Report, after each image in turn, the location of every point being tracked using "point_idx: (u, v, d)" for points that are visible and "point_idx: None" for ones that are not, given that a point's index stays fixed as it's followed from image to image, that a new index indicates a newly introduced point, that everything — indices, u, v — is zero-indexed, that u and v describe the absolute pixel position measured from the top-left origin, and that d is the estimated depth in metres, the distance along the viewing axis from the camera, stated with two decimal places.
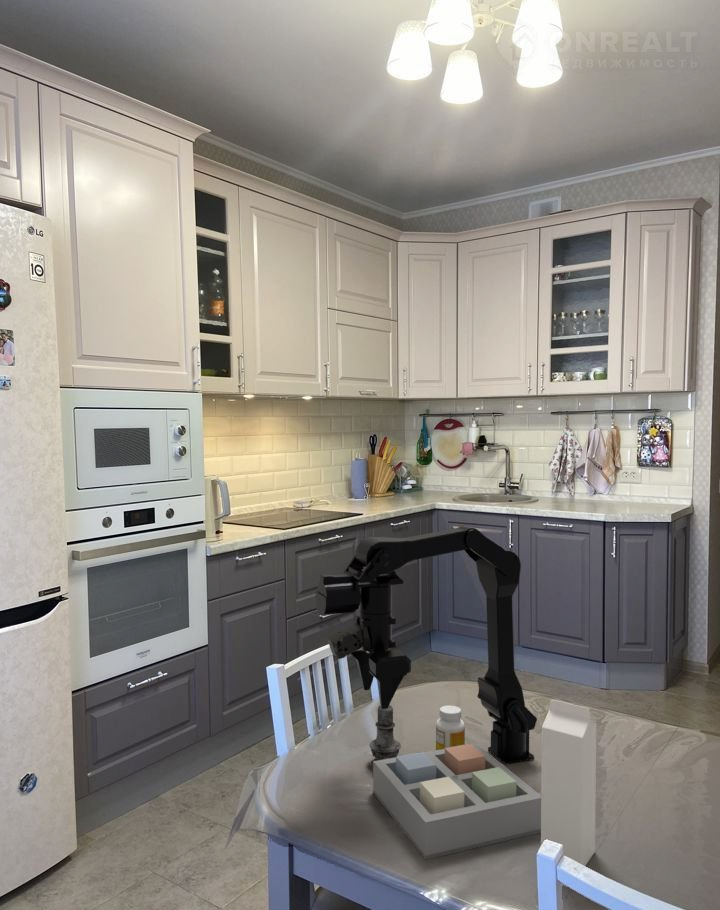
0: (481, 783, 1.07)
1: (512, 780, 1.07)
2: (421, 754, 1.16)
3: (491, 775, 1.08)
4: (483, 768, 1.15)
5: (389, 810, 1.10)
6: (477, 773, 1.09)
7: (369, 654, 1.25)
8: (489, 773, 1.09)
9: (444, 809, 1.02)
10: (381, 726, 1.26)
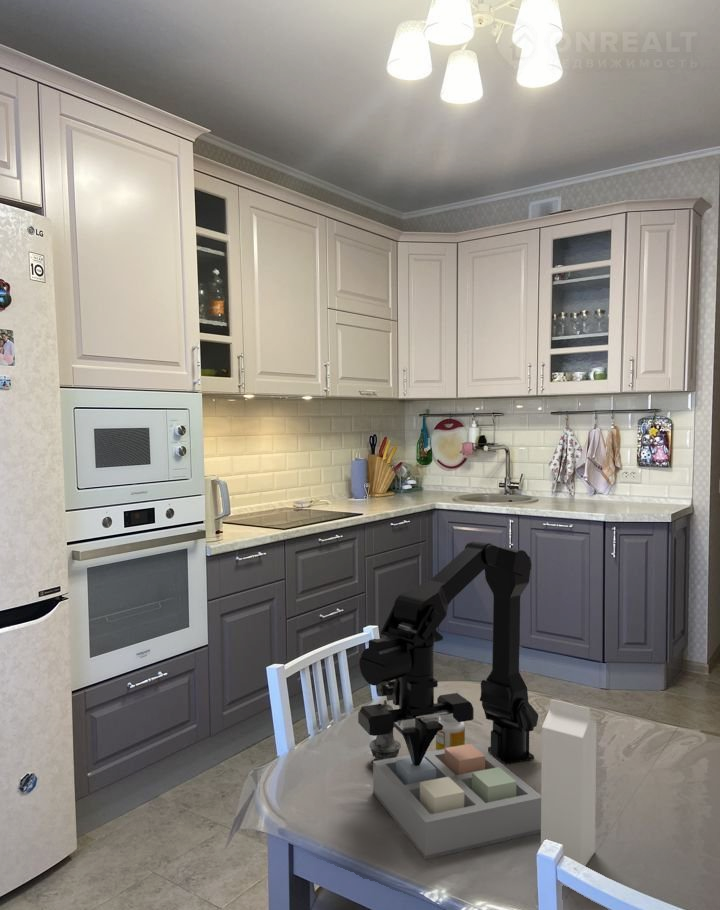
0: (481, 783, 1.07)
1: (512, 780, 1.07)
2: None
3: (491, 775, 1.08)
4: (483, 768, 1.15)
5: (389, 810, 1.10)
6: (477, 773, 1.09)
7: (421, 727, 1.13)
8: (489, 773, 1.09)
9: (444, 809, 1.02)
10: None
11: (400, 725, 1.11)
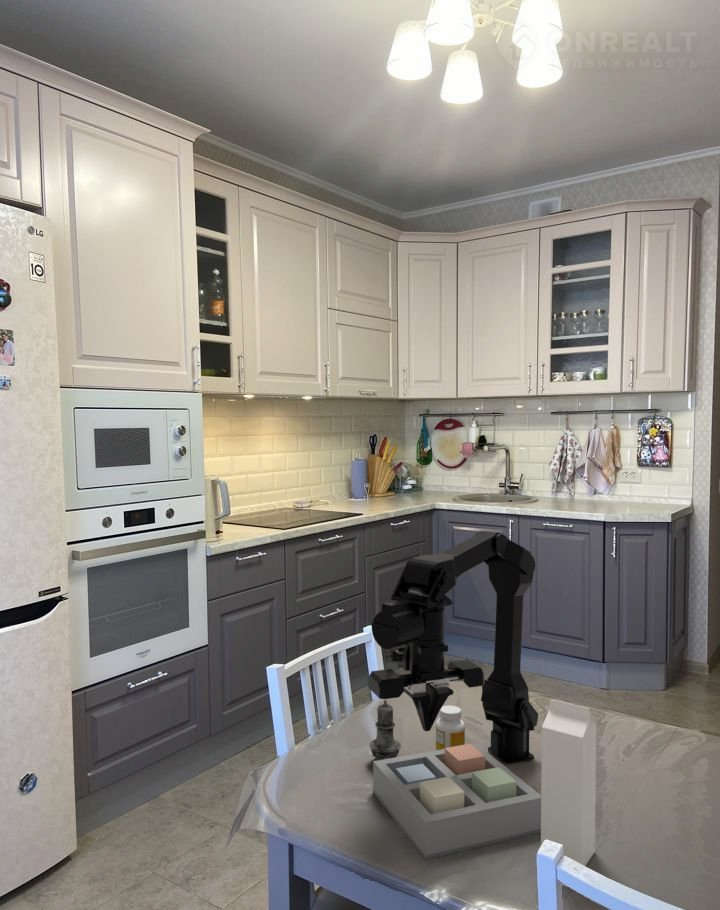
0: (481, 783, 1.07)
1: (512, 780, 1.07)
2: (421, 766, 1.16)
3: (491, 775, 1.08)
4: (483, 768, 1.15)
5: (389, 810, 1.10)
6: (477, 773, 1.09)
7: (432, 693, 1.12)
8: (489, 773, 1.09)
9: (444, 809, 1.02)
10: (381, 726, 1.26)
11: (410, 690, 1.10)
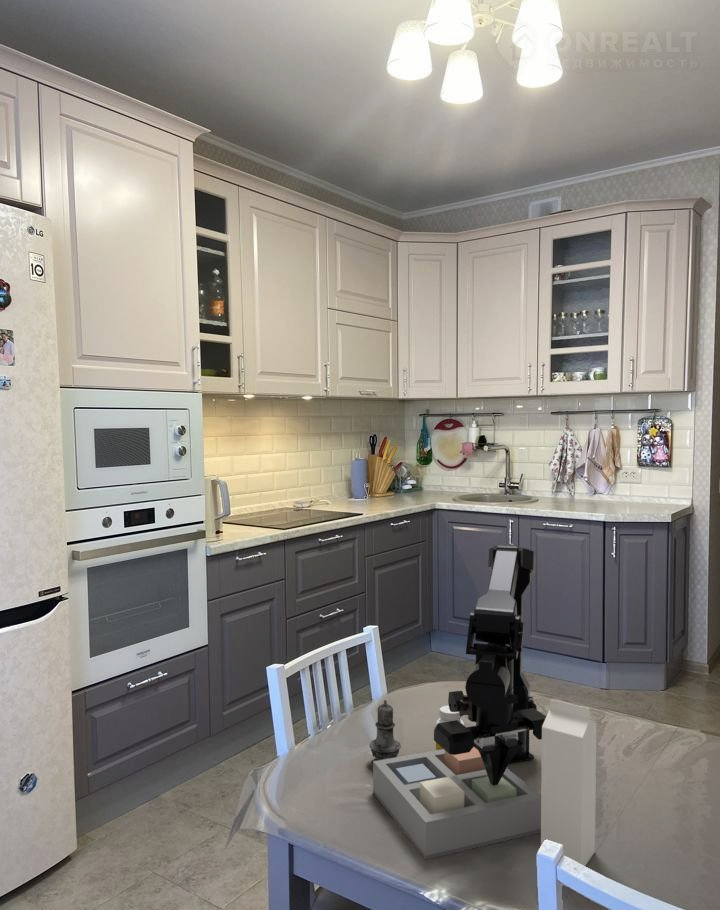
0: (481, 790, 1.07)
1: (512, 788, 1.07)
2: (421, 766, 1.16)
3: None
4: (483, 768, 1.15)
5: (389, 810, 1.10)
6: (477, 780, 1.09)
7: (500, 745, 1.07)
8: (489, 781, 1.09)
9: (444, 809, 1.02)
10: (381, 726, 1.26)
11: (479, 743, 1.05)
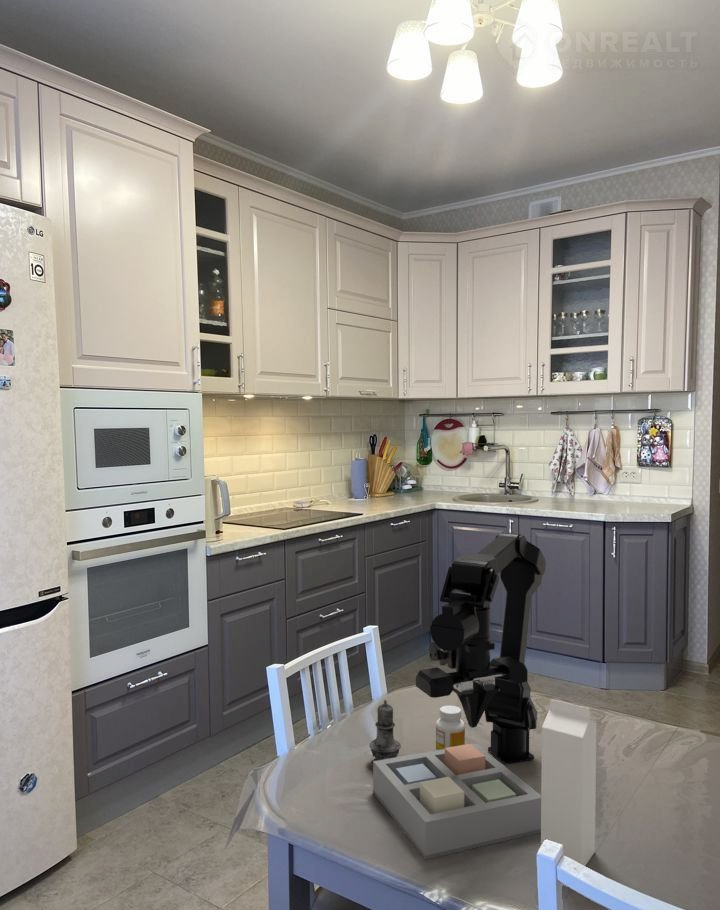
0: (481, 795, 1.07)
1: (512, 793, 1.07)
2: (421, 766, 1.16)
3: (491, 788, 1.08)
4: (483, 768, 1.15)
5: (389, 810, 1.10)
6: (477, 786, 1.09)
7: (478, 690, 1.14)
8: (489, 786, 1.09)
9: (444, 809, 1.02)
10: (381, 726, 1.26)
11: (458, 687, 1.12)
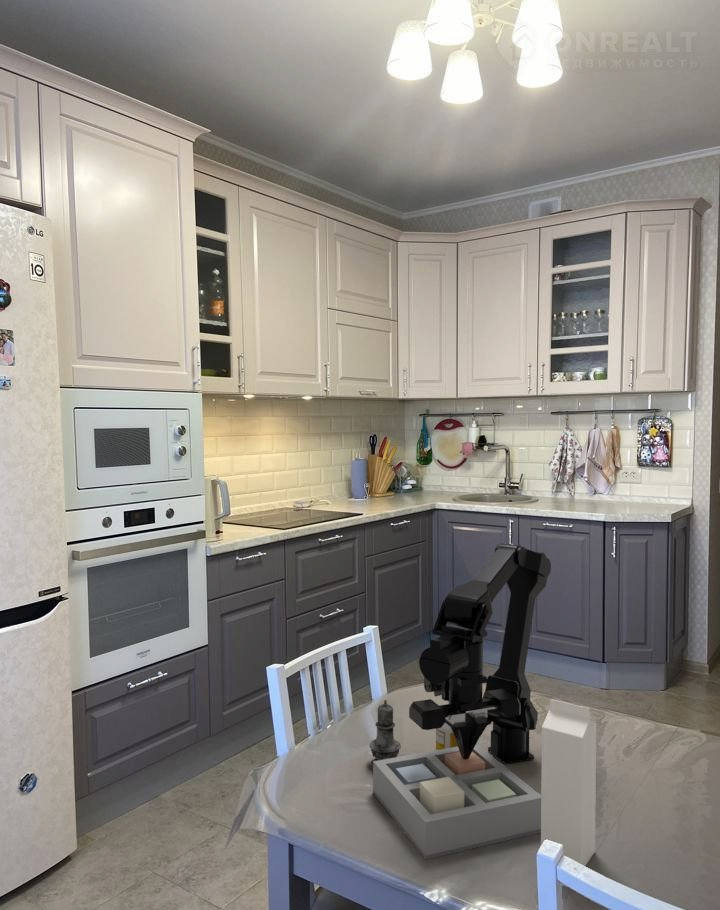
0: (481, 795, 1.07)
1: (512, 793, 1.07)
2: (421, 766, 1.16)
3: (491, 788, 1.08)
4: None
5: (389, 810, 1.10)
6: (477, 786, 1.09)
7: (470, 722, 1.16)
8: (489, 786, 1.09)
9: (444, 809, 1.02)
10: (381, 726, 1.26)
11: (450, 720, 1.14)
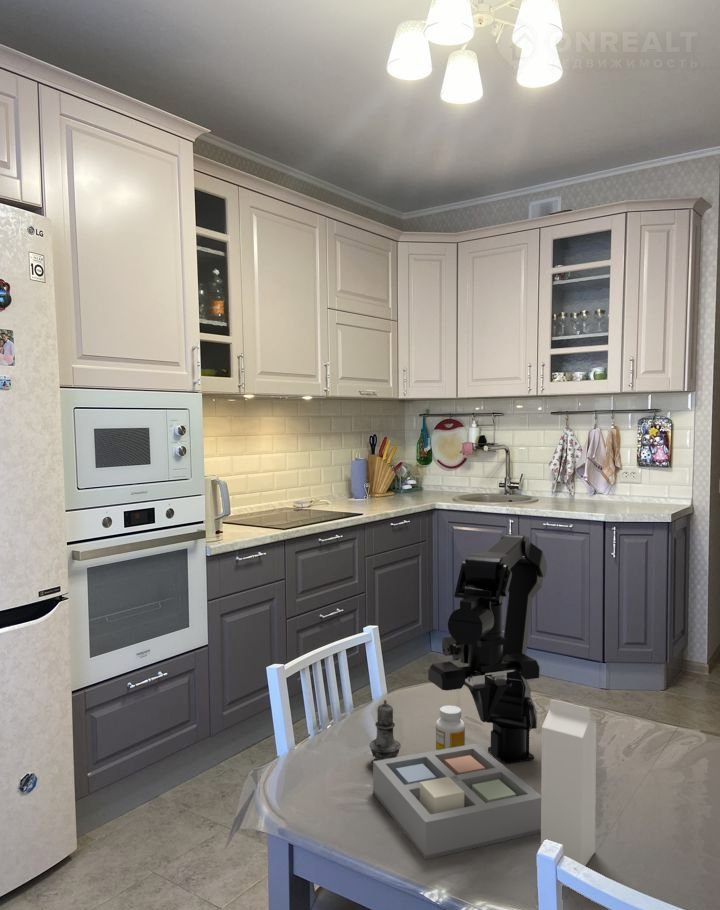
0: (481, 795, 1.07)
1: (512, 793, 1.07)
2: (421, 766, 1.16)
3: (491, 788, 1.08)
4: None
5: (389, 810, 1.10)
6: (477, 786, 1.09)
7: (489, 685, 1.15)
8: (489, 786, 1.09)
9: (444, 809, 1.02)
10: (381, 725, 1.26)
11: (470, 681, 1.13)
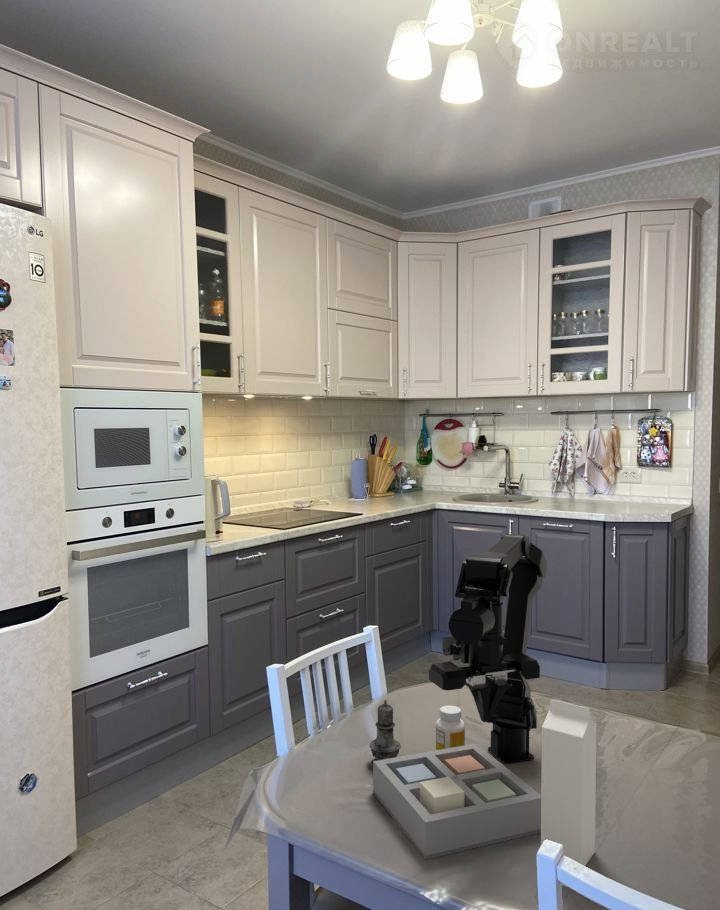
0: (481, 795, 1.07)
1: (512, 793, 1.07)
2: (421, 766, 1.16)
3: (491, 788, 1.08)
4: None
5: (389, 810, 1.10)
6: (477, 786, 1.09)
7: (490, 685, 1.15)
8: (489, 786, 1.09)
9: (444, 809, 1.02)
10: (381, 726, 1.26)
11: (471, 681, 1.13)
